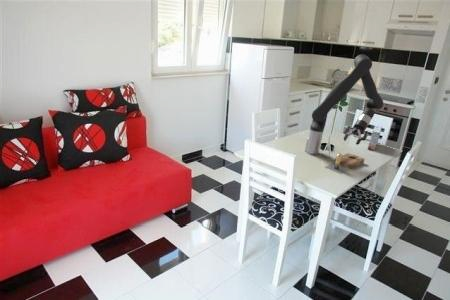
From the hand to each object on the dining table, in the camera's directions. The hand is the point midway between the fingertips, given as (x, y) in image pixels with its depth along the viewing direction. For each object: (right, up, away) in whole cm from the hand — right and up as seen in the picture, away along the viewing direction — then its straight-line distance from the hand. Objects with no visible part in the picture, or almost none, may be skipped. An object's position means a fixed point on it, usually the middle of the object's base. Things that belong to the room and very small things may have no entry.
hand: (350, 142), depth 208 cm
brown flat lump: (+3, -14, +10) cm, 17 cm away
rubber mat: (-10, -18, -1) cm, 20 cm away
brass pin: (-10, -17, -1) cm, 20 cm away
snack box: (+36, -3, +46) cm, 58 cm away
